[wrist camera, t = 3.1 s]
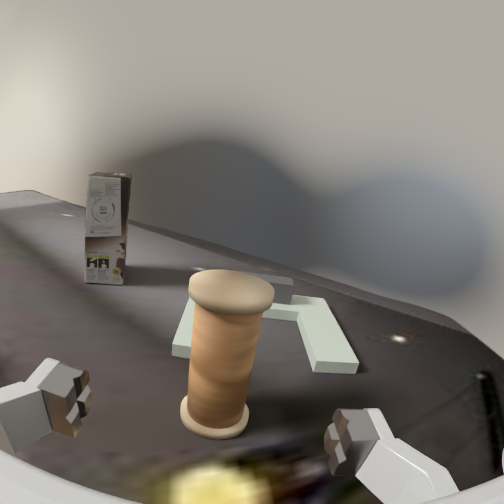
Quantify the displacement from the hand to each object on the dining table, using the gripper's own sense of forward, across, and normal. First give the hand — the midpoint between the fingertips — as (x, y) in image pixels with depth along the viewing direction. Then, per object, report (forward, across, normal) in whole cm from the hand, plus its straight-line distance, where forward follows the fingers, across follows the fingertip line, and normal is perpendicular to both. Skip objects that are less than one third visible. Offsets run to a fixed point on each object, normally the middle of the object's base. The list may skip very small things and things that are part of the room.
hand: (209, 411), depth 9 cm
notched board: (+29, -6, +12) cm, 32 cm away
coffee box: (+39, +19, +13) cm, 46 cm away
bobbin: (+12, -1, +12) cm, 17 cm away
